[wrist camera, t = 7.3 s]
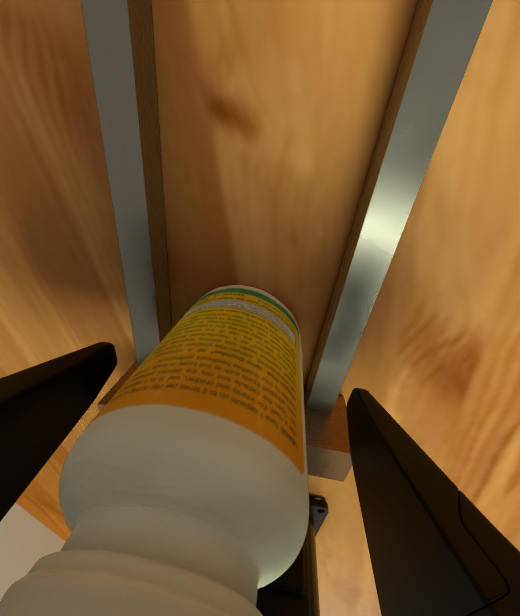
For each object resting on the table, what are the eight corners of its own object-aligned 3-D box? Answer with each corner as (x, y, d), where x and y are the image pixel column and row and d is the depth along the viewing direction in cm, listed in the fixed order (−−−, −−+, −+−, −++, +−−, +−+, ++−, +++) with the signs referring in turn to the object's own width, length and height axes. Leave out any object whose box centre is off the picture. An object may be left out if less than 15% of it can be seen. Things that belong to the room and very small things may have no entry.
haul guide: (333, 422, 13) (343, 481, 10) (142, 385, 14) (106, 433, 11) (617, -276, 4) (1167, -1059, 2) (38, -294, 5) (-274, -878, 2)
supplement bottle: (305, 375, 12) (335, 845, 3) (205, 379, 13) (35, 752, 4) (294, 272, 10) (306, 958, 1) (173, 287, 11) (-321, 704, 2)
